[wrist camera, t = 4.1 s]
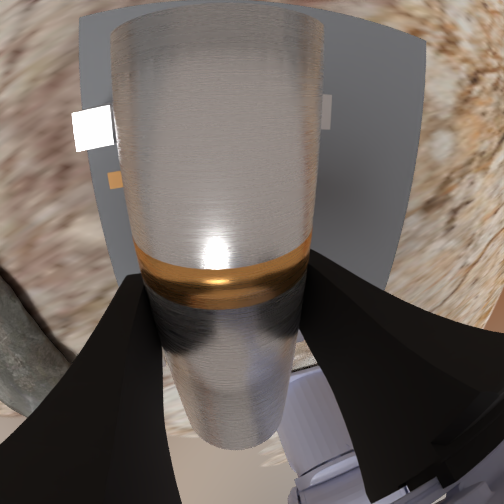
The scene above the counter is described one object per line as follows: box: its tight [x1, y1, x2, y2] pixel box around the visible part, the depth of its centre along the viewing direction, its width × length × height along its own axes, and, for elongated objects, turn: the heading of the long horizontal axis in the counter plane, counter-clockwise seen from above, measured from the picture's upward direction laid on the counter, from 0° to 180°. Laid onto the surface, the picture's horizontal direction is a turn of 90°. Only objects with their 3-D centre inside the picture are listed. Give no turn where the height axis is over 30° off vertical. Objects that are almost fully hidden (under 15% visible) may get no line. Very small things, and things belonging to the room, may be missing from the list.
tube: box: [110, 3, 324, 450], centre depth 9 cm, size 14×4×4 cm, turn 0°
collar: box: [72, 94, 332, 152], centre depth 10 cm, size 1×8×4 cm, turn 90°
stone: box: [0, 276, 71, 418], centre depth 15 cm, size 11×4×15 cm
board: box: [79, 0, 426, 290], centre depth 15 cm, size 18×18×1 cm
